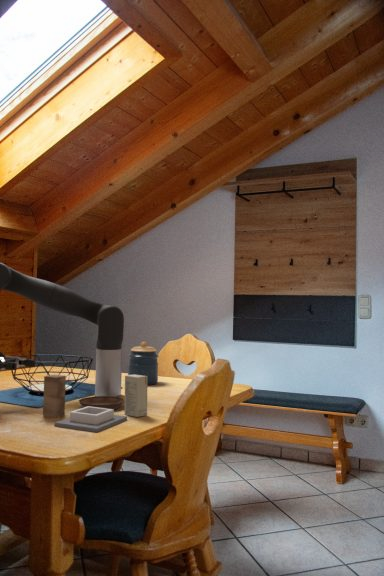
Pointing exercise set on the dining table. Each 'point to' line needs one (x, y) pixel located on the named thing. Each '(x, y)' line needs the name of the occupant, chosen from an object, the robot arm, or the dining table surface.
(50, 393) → the walnut square peg
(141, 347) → the canister
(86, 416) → the collar holder
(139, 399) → the skincare box
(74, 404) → the dining table surface
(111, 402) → the saucer
